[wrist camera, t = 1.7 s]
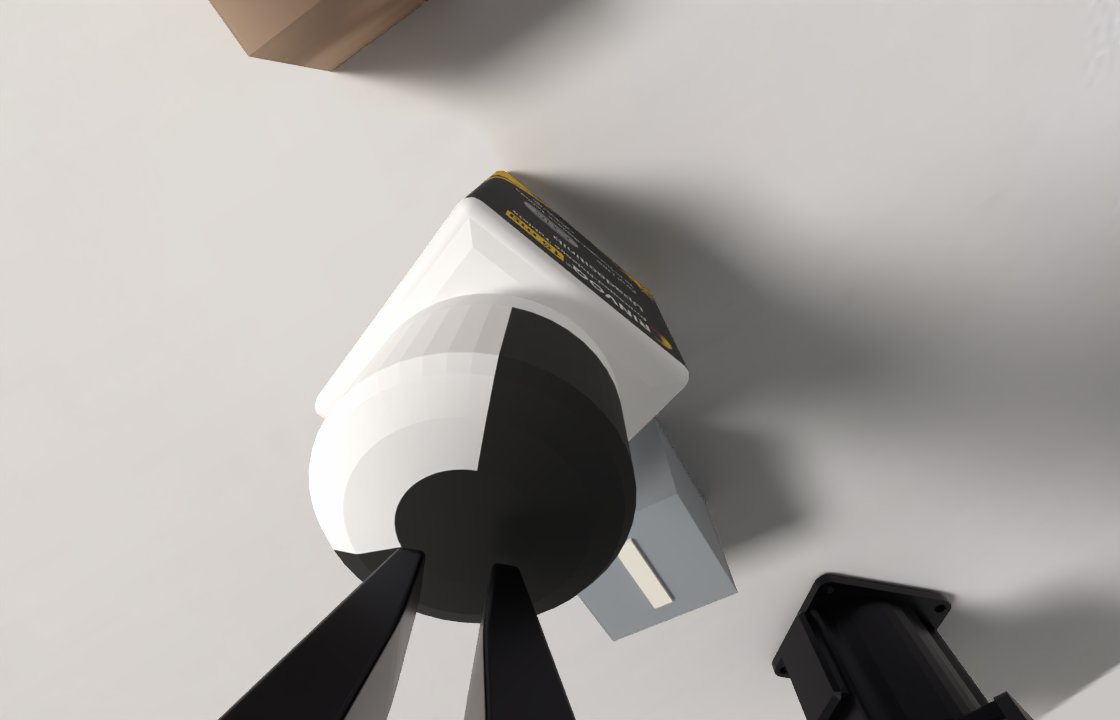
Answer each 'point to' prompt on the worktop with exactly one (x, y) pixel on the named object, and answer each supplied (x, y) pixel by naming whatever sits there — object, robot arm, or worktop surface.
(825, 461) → the worktop surface
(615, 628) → the slate block one
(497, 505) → the medicine bottle
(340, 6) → the walnut block two
